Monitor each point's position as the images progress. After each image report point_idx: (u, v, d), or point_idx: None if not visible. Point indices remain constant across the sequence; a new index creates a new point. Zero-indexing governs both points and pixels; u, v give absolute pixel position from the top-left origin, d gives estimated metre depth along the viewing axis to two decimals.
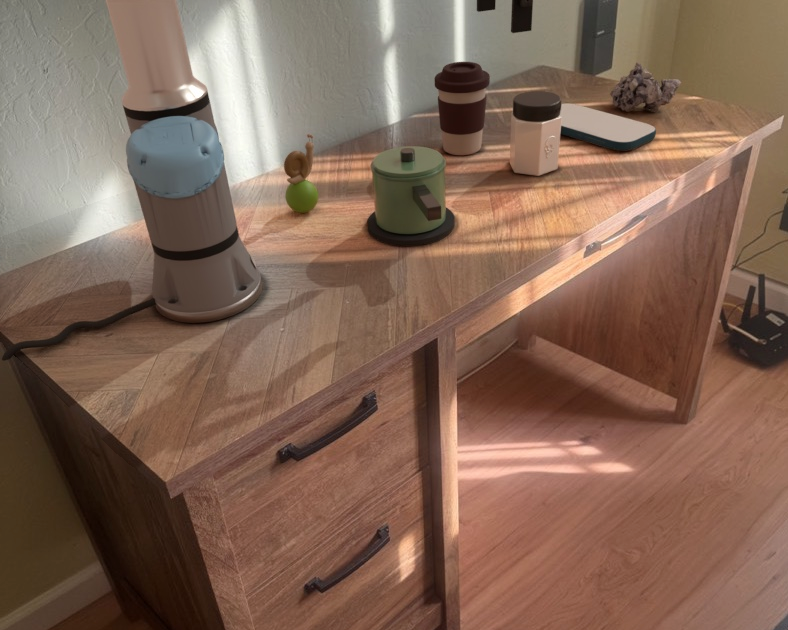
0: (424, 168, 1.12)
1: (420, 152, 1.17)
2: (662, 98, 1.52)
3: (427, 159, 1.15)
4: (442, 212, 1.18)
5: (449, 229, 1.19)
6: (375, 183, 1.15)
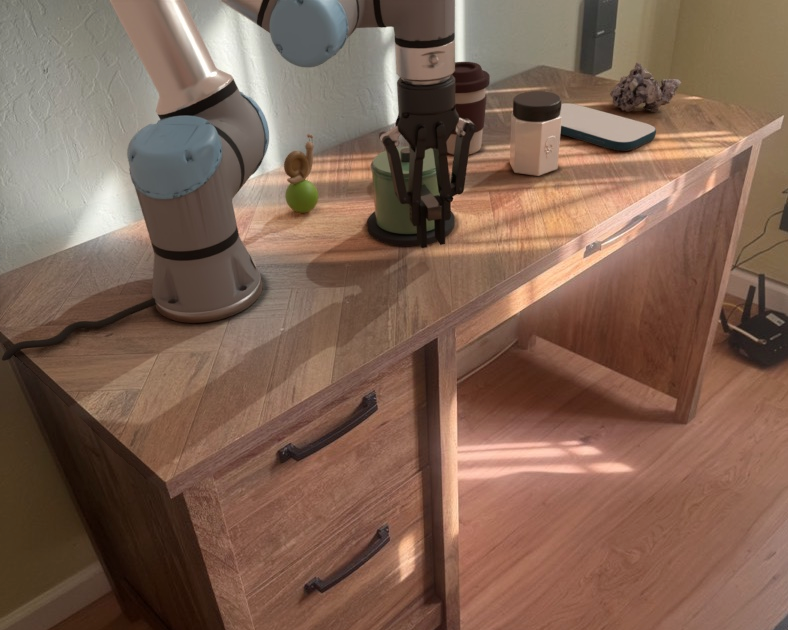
0: (424, 168, 1.12)
1: None
2: (662, 98, 1.52)
3: (427, 159, 1.15)
4: None
5: (449, 229, 1.19)
6: (375, 183, 1.15)
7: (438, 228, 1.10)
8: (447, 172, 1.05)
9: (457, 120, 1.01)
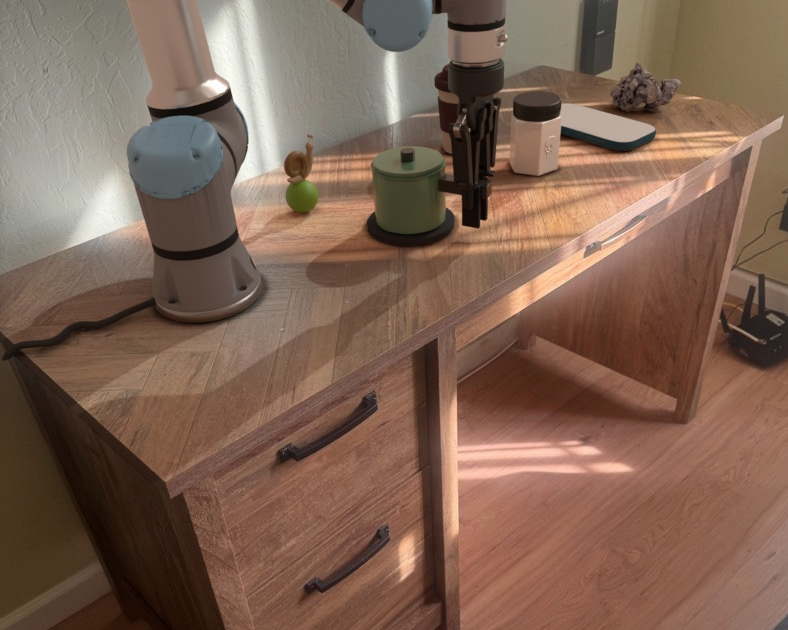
0: (437, 159, 1.15)
1: None
2: (662, 98, 1.52)
3: (422, 153, 1.17)
4: None
5: (449, 229, 1.19)
6: (397, 190, 1.13)
7: (482, 205, 1.15)
8: (489, 148, 1.11)
9: (493, 96, 1.08)
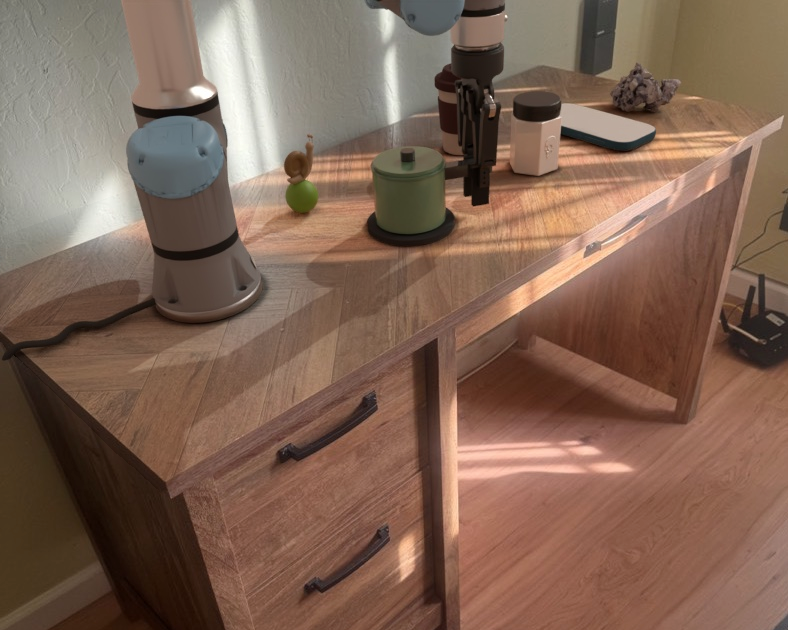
0: (432, 151, 1.17)
1: (391, 155, 1.17)
2: (662, 98, 1.52)
3: None
4: None
5: (449, 229, 1.19)
6: (424, 188, 1.13)
7: None
8: None
9: None
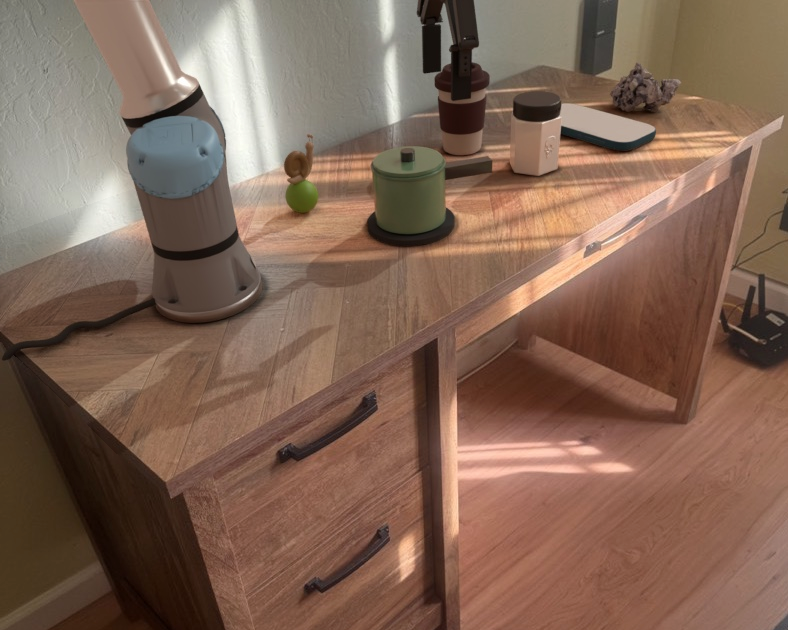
0: (432, 151, 1.17)
1: (391, 155, 1.17)
2: (662, 98, 1.52)
3: None
4: None
5: (449, 229, 1.19)
6: (424, 188, 1.13)
7: (437, 55, 1.15)
8: None
9: None
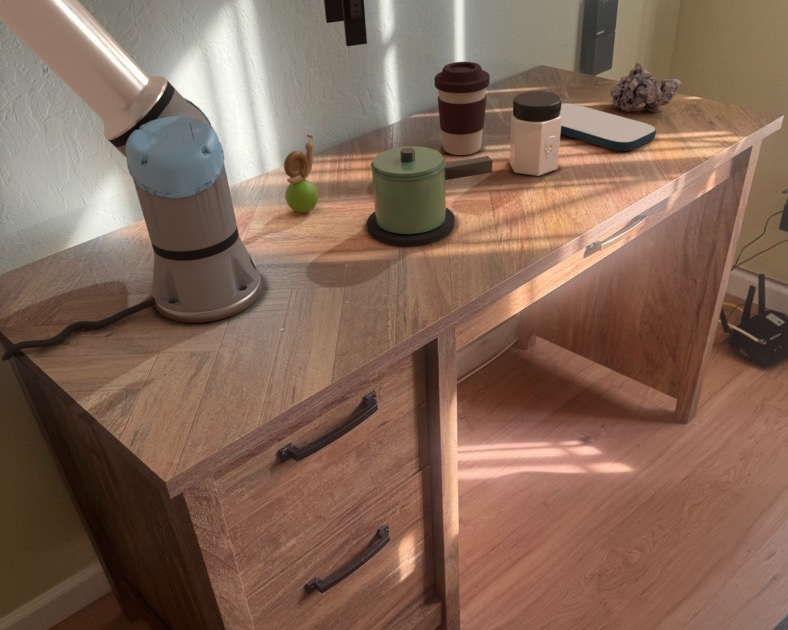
0: (432, 151, 1.17)
1: (391, 155, 1.17)
2: (662, 98, 1.52)
3: None
4: None
5: (449, 229, 1.19)
6: (424, 188, 1.13)
7: (340, 3, 1.09)
8: None
9: None
